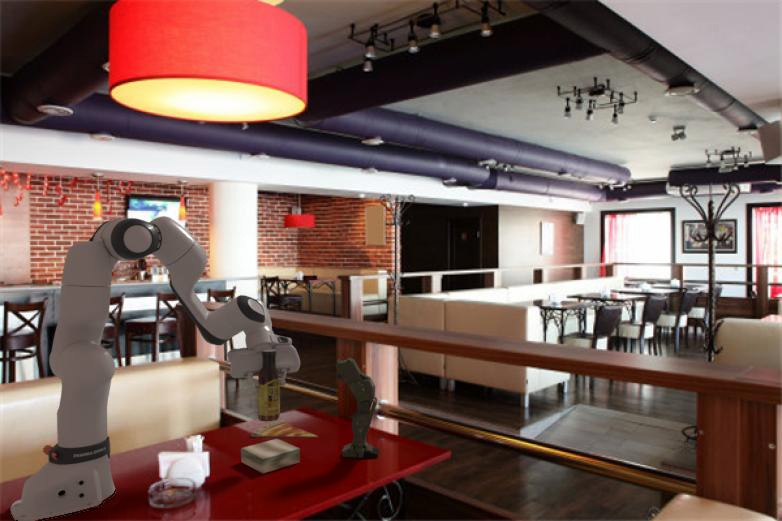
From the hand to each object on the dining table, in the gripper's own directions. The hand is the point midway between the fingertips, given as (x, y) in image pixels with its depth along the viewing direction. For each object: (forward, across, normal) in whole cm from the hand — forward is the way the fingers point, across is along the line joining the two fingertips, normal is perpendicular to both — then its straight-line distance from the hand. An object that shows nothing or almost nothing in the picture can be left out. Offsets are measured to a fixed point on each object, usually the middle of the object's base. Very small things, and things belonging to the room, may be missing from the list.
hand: (269, 385), depth 166 cm
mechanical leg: (+19, +25, +12) cm, 34 cm away
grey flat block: (+15, 0, +16) cm, 22 cm away
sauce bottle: (+7, 0, +8) cm, 10 cm away
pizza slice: (0, +8, +33) cm, 34 cm away
